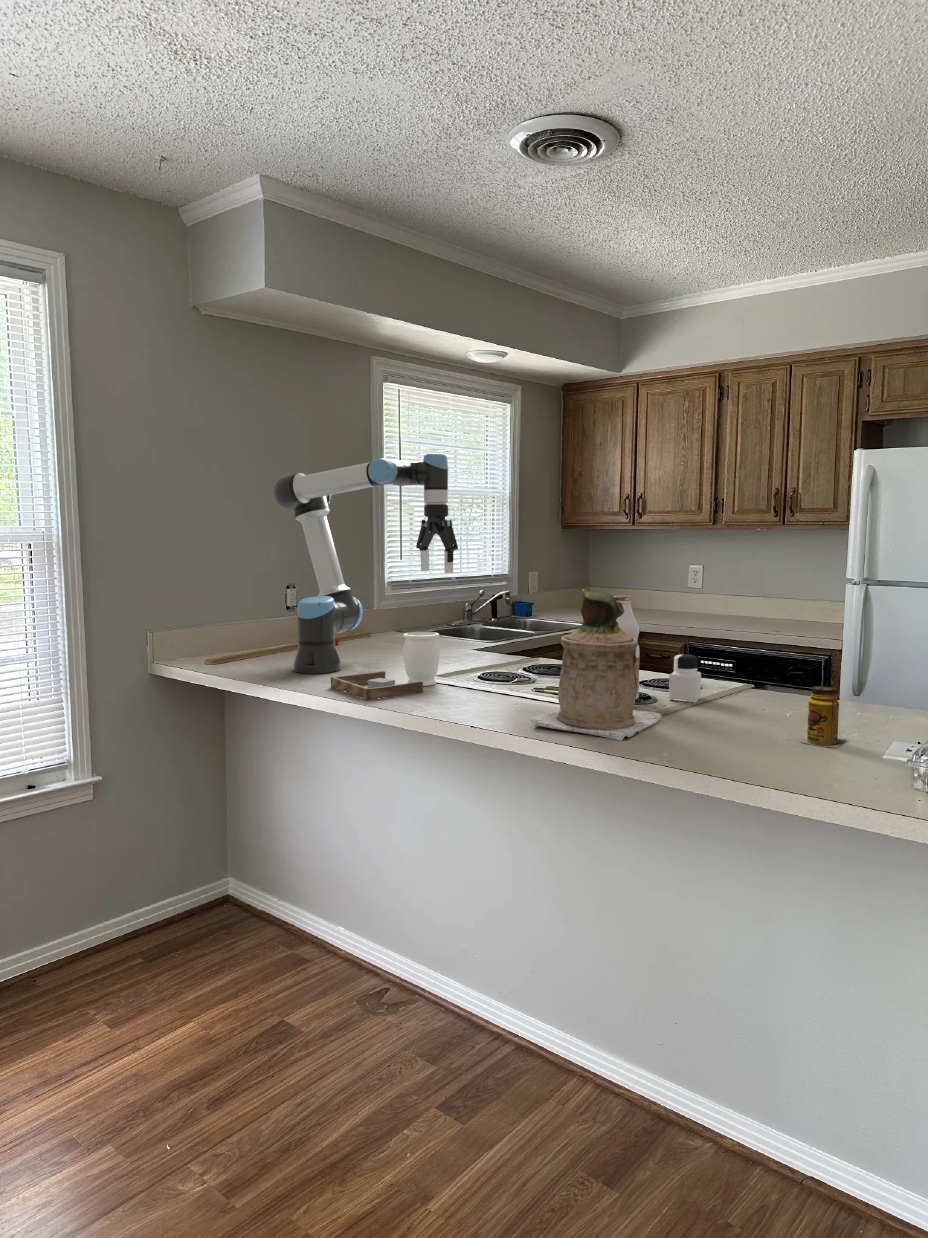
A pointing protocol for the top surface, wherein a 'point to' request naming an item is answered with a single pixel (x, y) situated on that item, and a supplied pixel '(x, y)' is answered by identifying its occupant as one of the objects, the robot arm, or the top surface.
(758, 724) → the top surface
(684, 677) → the medicine bottle
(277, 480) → the robot arm
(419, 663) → the jar
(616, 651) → the cookie jar
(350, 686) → the tray
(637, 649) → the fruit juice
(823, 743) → the condiment
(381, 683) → the tile
